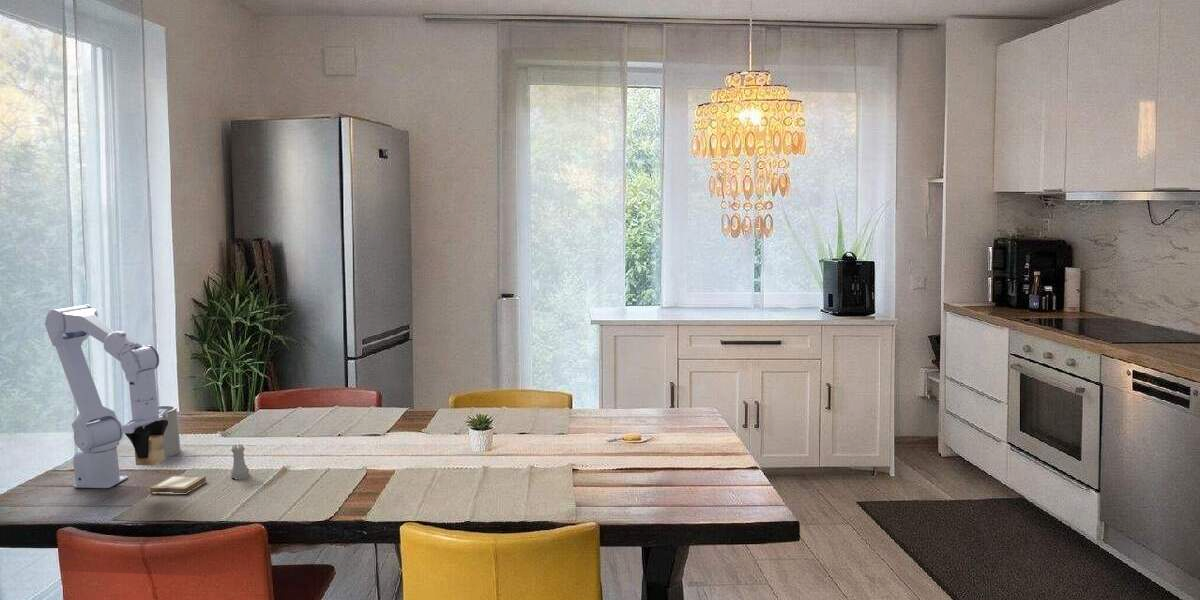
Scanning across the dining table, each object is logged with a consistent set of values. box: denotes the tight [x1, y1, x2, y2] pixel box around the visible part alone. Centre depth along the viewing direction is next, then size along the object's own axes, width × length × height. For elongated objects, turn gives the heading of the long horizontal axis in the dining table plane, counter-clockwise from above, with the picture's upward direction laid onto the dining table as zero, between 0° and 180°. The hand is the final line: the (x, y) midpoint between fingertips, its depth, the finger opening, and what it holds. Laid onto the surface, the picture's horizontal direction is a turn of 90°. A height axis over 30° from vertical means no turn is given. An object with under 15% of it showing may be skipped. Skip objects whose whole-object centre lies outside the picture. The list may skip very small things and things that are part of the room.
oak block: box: [134, 435, 166, 466], centre depth 238 cm, size 4×4×6 cm
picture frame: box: [149, 475, 207, 494], centre depth 243 cm, size 9×9×2 cm
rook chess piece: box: [230, 443, 250, 480], centre depth 250 cm, size 4×4×8 cm
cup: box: [143, 404, 181, 458], centre depth 272 cm, size 9×9×12 cm
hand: (149, 454), depth 238 cm, fingers closed on oak block, 4 cm apart
